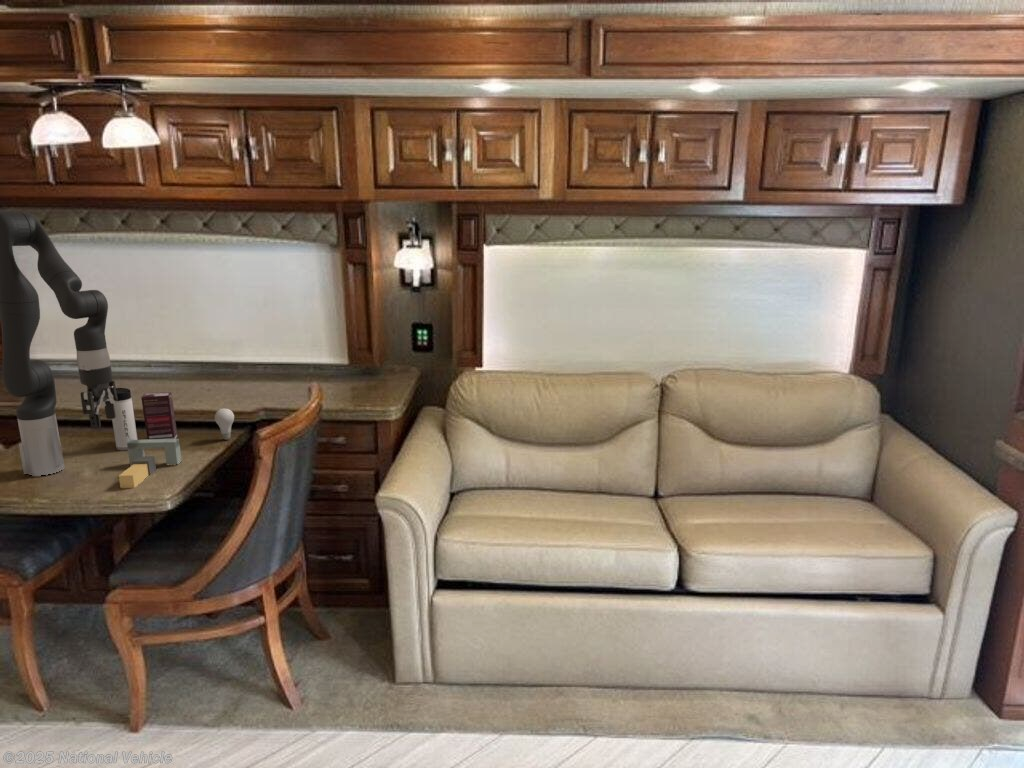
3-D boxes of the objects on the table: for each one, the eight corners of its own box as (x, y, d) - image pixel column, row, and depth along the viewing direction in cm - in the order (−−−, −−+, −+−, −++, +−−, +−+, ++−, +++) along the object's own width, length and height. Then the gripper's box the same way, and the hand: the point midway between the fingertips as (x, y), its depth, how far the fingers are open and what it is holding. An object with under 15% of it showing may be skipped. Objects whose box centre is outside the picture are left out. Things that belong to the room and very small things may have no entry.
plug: (119, 488, 190) (116, 473, 189) (142, 469, 204) (140, 455, 203) (136, 487, 190) (133, 472, 189) (157, 469, 204) (155, 454, 203)
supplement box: (177, 435, 234) (172, 391, 230) (174, 440, 230) (169, 395, 226) (150, 437, 232) (144, 393, 228) (146, 442, 227) (140, 396, 223)
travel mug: (122, 444, 225) (113, 386, 220) (142, 444, 226) (134, 386, 221) (111, 450, 219) (102, 391, 214) (132, 450, 219) (123, 391, 214)
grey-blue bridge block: (130, 466, 206) (126, 443, 204) (134, 462, 209) (131, 439, 207) (177, 465, 207) (174, 442, 205) (181, 461, 210) (178, 438, 208)
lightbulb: (233, 442, 228) (230, 411, 225) (214, 442, 227) (211, 411, 224) (238, 436, 234) (235, 406, 231) (220, 437, 233) (217, 406, 230)
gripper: (93, 360, 189) (102, 416, 193) (65, 371, 175) (75, 431, 179) (121, 359, 189) (129, 415, 193) (96, 370, 176) (105, 430, 180)
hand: (103, 423), depth 186 cm, fingers open, 8 cm apart
